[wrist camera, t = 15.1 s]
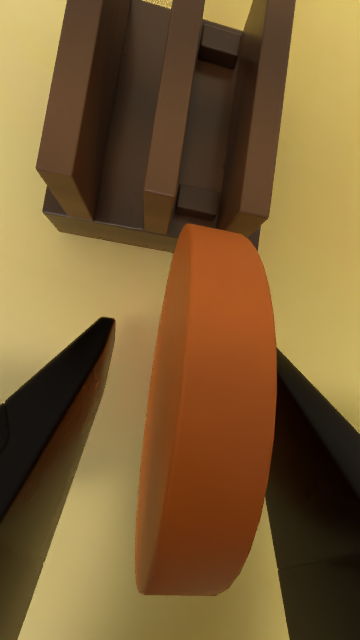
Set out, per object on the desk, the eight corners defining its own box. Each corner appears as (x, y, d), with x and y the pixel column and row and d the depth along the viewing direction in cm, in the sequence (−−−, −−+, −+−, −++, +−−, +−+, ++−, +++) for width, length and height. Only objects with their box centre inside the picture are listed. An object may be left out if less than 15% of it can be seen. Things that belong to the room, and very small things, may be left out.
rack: (240, 265, 13) (299, 224, 8) (58, 231, 12) (-4, 160, 7) (264, 85, 14) (331, -56, 9) (93, 36, 12) (58, -157, 8)
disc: (168, 463, 12) (238, 826, 3) (139, 460, 12) (119, 839, 3) (193, 278, 13) (305, 136, 4) (166, 273, 13) (218, 114, 4)
